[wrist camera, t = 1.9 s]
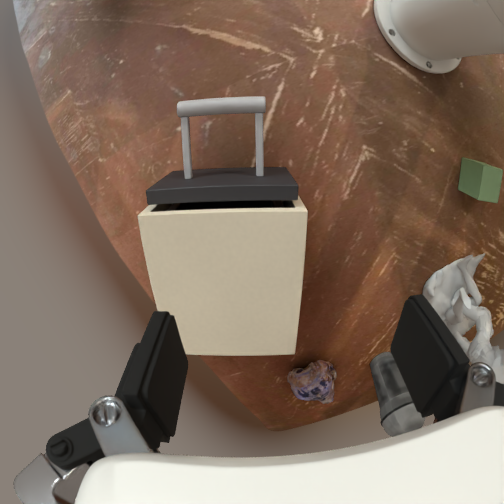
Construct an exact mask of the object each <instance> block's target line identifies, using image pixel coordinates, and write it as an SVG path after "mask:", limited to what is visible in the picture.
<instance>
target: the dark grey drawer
mask: <svg viewBox="0 0 504 504" xmlns="http://www.w3.org/2000/svg"><path fill="white" fill-rule="evenodd" d="M265 110H266V102H265V97H228V98H212V99H200V100H189V101H180V102H178V104H177V114H178V117H180V118H181V131H182V148H183V163H184V170H183V171H173V172H171V173H170V174H168V175H167V176H165V177H164V178H163V179H161V180H160V181H158V182H157V183H156V184H154V185H153V186H151V187H150V188H149V189H147V190H146V196H147V203H148V205H155V204H172V203H173V204H172V206H171V207H170V208H169V209H168V210H167V211H178V210H202V209H235V208H284V205H283V203H282V200H298V184H297V183H296V181H295V180H294V178H293V177H292V176H291V174H290V173H289V171H288V170H287V168H286V167H264V166H263V113H265ZM238 113H255V129H256V167H250V168H218V169H198V170H192V160H191V144H190V124H189V117H191V116H203V115H217V114H238Z"/></svg>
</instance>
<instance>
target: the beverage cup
mask: <svg viewBox="0 0 504 504" xmlns="http://www.w3.org/2000/svg"><path fill="white" fill-rule="evenodd" d="M370 367H371V373H372V377H373V381H374V385H375V389H376V393H377V397H378V401H379V406H380V416H381V425H382V426H383V428H384V430H385V431H386V433H387V434H388V435H390V436H392V437H394V436H397V435H401V434H404V433H407V432H410V431H414V430H417V429H420V428H421V427H422V426H423V424H424V421H425V417H424V418H422V416H421V413H420V412H417V410H416V408H415V406H414V403H413V401H412V398H411V396H410V394H409V391H408V389H407V387H406V384H405V382H404V380H403V378H402V375H401V373H400V371H399V369H398V367H397V364H396V362H395V360H394V358H393V356H392V354H391V353H390V352H385V353H381V354H379V355H377V356H376V357H375V358H374V359H373V360H372V361H371V363H370Z"/></svg>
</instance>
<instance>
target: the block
mask: <svg viewBox="0 0 504 504" xmlns="http://www.w3.org/2000/svg"><path fill="white" fill-rule="evenodd" d="M502 173H503V170H502V169H499V168H496V167H494V166H491V165H488V164H486V163H483V162H479V161H476V160H472V159H468V158H464V157H462V162H461V171H460V178H459V185H458V190H460V191H462V192H464V193H466V194H468V195H469V196H471V197H473V198H475V199H477V200H481V201H487V202H494V203H498V198H499V193H500V187H501V180H502Z"/></svg>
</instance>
